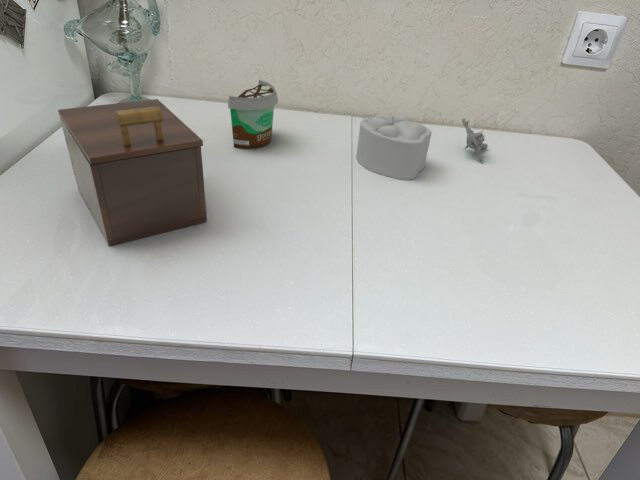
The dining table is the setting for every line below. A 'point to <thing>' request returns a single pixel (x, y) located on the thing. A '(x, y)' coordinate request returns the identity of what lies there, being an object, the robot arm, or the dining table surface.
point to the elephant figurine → (475, 140)
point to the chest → (141, 191)
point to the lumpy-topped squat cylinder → (393, 146)
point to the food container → (253, 116)
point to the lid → (127, 130)
